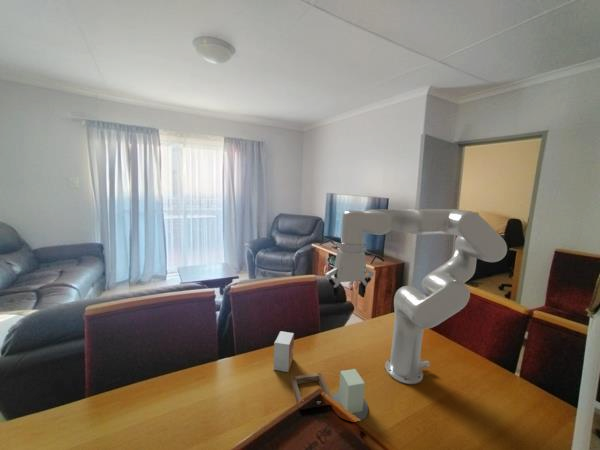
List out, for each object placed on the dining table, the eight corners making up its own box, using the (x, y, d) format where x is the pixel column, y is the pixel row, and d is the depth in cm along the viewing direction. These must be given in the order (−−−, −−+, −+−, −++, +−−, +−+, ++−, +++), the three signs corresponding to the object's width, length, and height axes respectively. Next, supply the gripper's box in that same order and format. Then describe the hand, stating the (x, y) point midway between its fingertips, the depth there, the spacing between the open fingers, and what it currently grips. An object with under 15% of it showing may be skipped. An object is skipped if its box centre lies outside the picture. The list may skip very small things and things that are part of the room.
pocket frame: (320, 377, 88) (320, 372, 88) (332, 405, 77) (332, 399, 77) (290, 382, 85) (291, 376, 85) (299, 410, 74) (299, 404, 74)
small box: (288, 373, 90) (289, 345, 88) (272, 370, 91) (273, 342, 89) (293, 358, 97) (294, 332, 96) (279, 356, 98) (280, 330, 97)
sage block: (353, 395, 80) (355, 368, 79) (362, 411, 74) (364, 383, 73) (338, 397, 79) (340, 371, 78) (346, 414, 73) (348, 385, 72)
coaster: (357, 389, 83) (357, 387, 83) (375, 418, 73) (375, 416, 73) (325, 394, 81) (325, 392, 81) (339, 425, 70) (339, 423, 70)
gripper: (369, 245, 91) (365, 291, 93) (323, 245, 87) (320, 293, 89) (381, 249, 84) (376, 299, 86) (331, 250, 79) (328, 303, 82)
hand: (348, 296), depth 87 cm, fingers open, 9 cm apart
